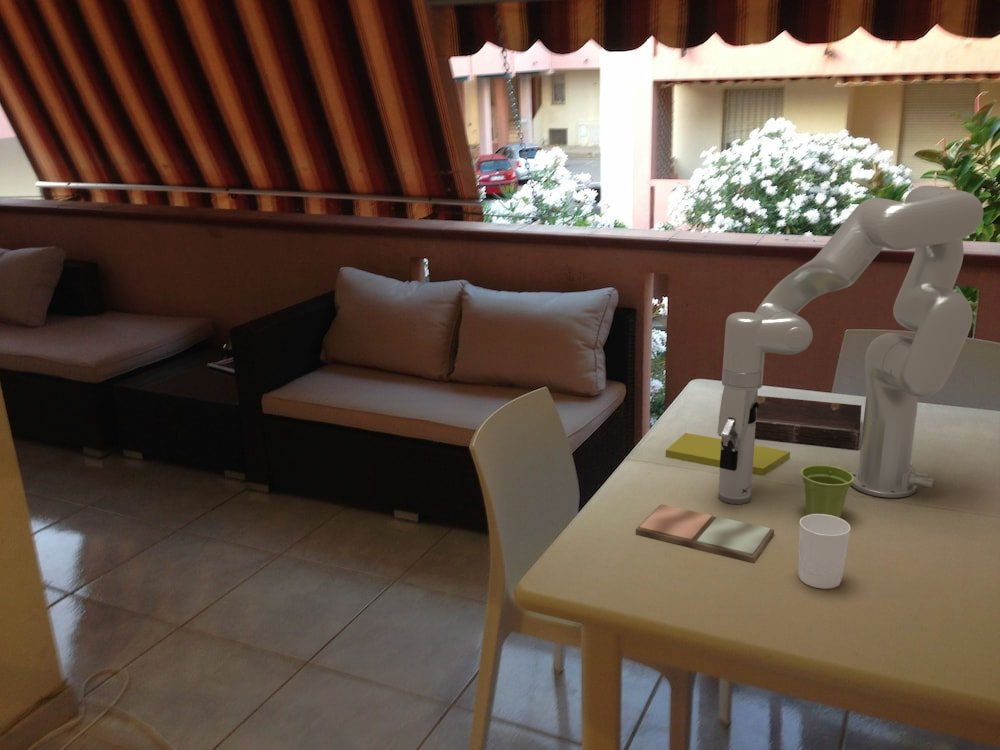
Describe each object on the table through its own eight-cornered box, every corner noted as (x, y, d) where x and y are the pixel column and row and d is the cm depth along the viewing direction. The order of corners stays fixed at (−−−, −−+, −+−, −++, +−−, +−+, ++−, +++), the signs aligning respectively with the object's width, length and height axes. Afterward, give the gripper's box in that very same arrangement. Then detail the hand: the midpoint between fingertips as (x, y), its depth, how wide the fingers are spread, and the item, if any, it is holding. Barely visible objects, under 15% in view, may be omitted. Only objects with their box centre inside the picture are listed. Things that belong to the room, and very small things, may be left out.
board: (773, 534, 170) (774, 527, 169) (754, 562, 160) (754, 555, 160) (660, 509, 181) (660, 502, 180) (635, 534, 171) (635, 527, 171)
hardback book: (725, 438, 218) (726, 417, 216) (736, 412, 234) (737, 393, 233) (857, 452, 207) (859, 431, 206) (859, 425, 224) (861, 405, 223)
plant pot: (812, 501, 183) (815, 460, 180) (858, 516, 176) (862, 473, 174) (788, 517, 177) (791, 474, 174) (835, 532, 170) (839, 489, 168)
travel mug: (753, 505, 181) (759, 409, 175) (718, 503, 183) (723, 407, 177) (751, 492, 187) (757, 398, 181) (718, 490, 189) (723, 397, 183)
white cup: (838, 595, 149) (844, 539, 146) (789, 583, 153) (793, 528, 150) (849, 574, 156) (855, 520, 153) (802, 563, 160) (806, 509, 157)
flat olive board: (665, 459, 206) (773, 480, 194) (665, 449, 206) (774, 470, 194) (685, 441, 216) (789, 460, 204) (685, 432, 215) (790, 451, 203)
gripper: (737, 363, 186) (731, 443, 191) (708, 386, 172) (702, 471, 177) (774, 369, 183) (767, 450, 188) (747, 392, 169) (741, 479, 174)
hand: (736, 460), depth 183 cm, fingers open, 9 cm apart
